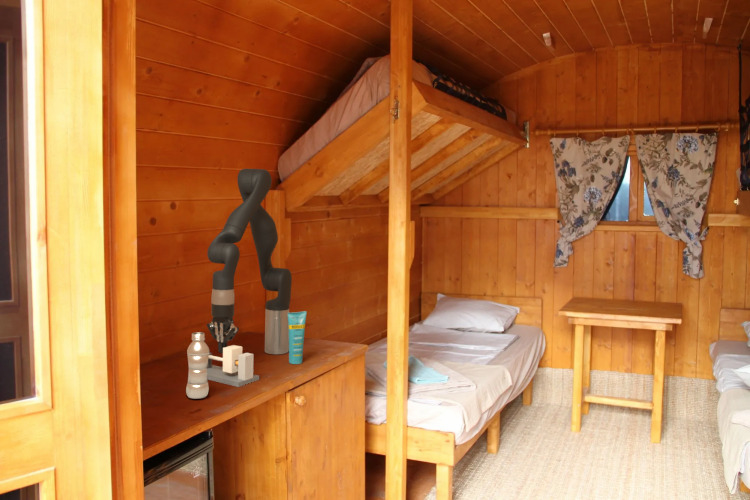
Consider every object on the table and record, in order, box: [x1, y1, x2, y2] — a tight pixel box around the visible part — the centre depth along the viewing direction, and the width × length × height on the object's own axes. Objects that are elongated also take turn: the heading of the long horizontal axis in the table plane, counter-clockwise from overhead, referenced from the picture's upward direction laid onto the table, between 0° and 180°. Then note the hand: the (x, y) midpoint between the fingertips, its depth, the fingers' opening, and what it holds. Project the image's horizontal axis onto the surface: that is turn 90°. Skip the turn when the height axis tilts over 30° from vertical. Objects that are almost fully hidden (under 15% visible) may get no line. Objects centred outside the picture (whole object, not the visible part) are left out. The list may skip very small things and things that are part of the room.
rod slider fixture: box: [207, 352, 260, 388], centre depth 225 cm, size 10×22×10 cm, turn 59°
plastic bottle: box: [185, 331, 210, 400], centre depth 203 cm, size 6×7×20 cm
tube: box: [288, 310, 308, 365], centre depth 247 cm, size 7×5×19 cm, turn 123°
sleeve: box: [222, 344, 243, 373], centre depth 223 cm, size 5×4×8 cm
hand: (222, 352), depth 226 cm, fingers closed
